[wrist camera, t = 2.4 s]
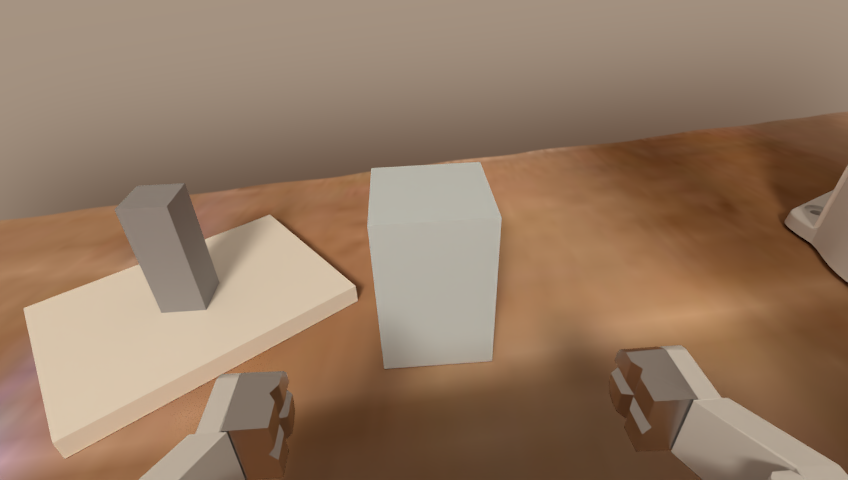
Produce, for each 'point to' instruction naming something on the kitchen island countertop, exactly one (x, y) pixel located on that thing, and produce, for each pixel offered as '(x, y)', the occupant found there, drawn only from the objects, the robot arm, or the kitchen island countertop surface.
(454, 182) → the tall grey rectangular prism
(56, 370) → the post board
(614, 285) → the kitchen island countertop surface
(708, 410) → the robot arm
